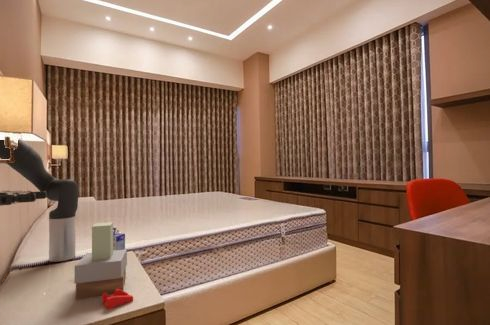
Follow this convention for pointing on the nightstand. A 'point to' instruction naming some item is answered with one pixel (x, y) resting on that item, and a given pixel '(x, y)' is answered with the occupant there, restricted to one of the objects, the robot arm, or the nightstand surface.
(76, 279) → the slate grey top block
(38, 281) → the nightstand surface
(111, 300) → the red lumpy piece
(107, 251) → the sage green tall block
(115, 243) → the ink cartridge box
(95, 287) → the walnut base block
